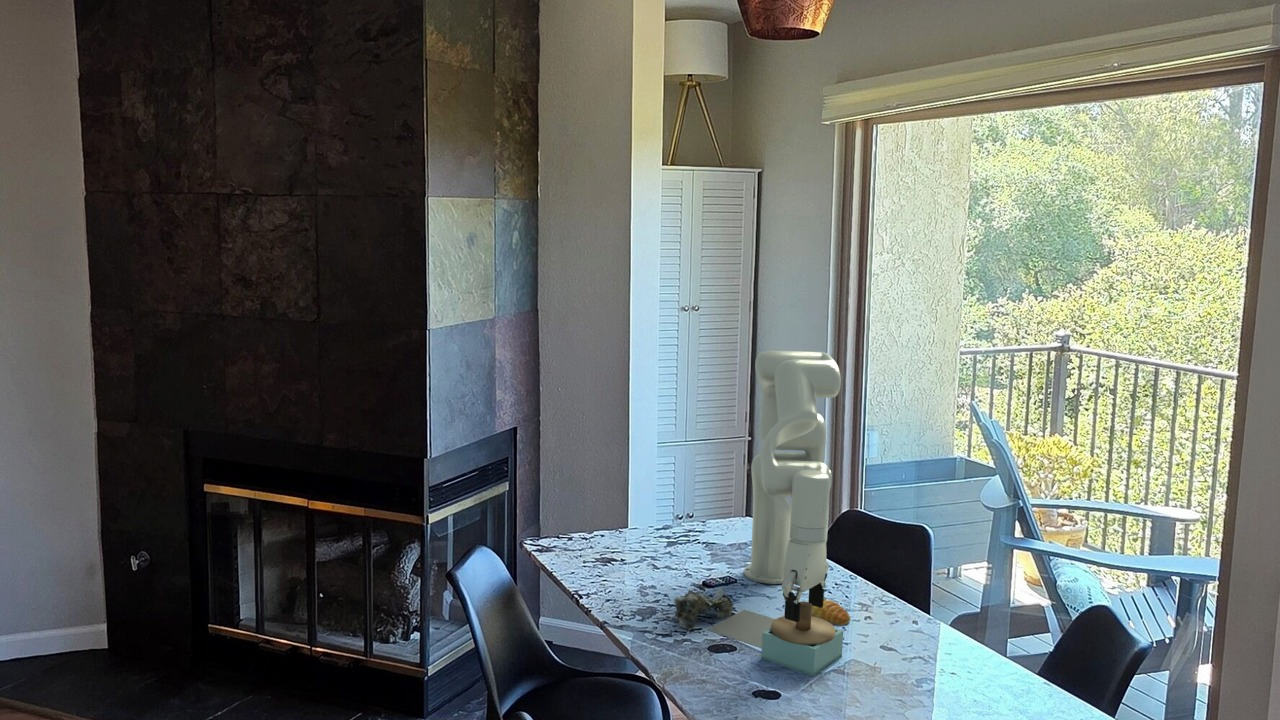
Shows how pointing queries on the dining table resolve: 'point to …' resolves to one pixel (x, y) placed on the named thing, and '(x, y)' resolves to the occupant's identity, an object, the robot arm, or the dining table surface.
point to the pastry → (831, 613)
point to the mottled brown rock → (701, 606)
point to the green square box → (801, 653)
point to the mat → (744, 627)
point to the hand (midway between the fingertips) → (804, 612)
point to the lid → (804, 628)
